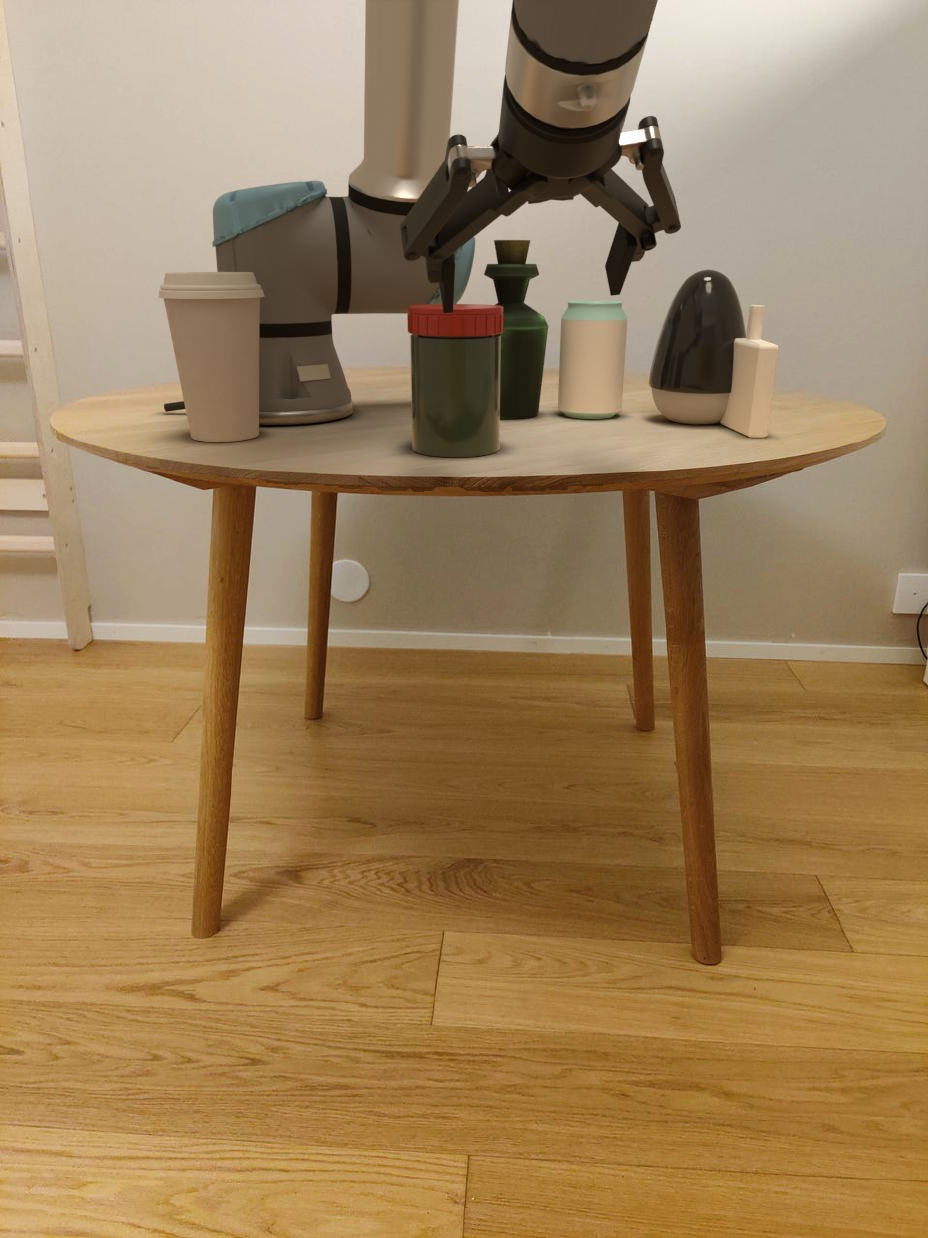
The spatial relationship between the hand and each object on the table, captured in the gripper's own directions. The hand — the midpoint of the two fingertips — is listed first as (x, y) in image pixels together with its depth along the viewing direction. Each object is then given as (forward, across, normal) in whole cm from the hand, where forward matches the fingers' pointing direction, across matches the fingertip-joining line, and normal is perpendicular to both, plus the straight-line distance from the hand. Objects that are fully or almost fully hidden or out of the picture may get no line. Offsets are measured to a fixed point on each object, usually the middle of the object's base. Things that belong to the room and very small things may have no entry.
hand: (529, 289), depth 74 cm
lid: (+6, -6, +2) cm, 8 cm away
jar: (+13, -7, -8) cm, 16 cm away
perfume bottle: (+20, +23, -6) cm, 31 cm away
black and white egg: (+25, +20, -3) cm, 32 cm away
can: (+28, +10, +1) cm, 30 cm away
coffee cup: (+19, -28, -1) cm, 34 cm away
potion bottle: (+29, +1, +2) cm, 29 cm away
